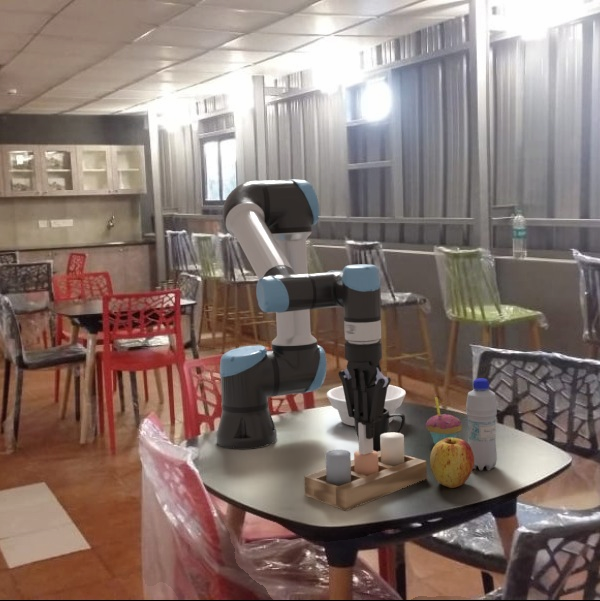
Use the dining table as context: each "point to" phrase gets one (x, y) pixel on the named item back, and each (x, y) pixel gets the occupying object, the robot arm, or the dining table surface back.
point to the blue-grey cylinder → (338, 467)
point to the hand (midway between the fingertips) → (366, 452)
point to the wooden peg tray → (365, 483)
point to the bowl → (339, 403)
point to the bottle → (482, 424)
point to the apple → (452, 462)
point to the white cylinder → (392, 448)
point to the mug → (383, 428)
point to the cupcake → (443, 425)
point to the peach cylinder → (366, 463)
